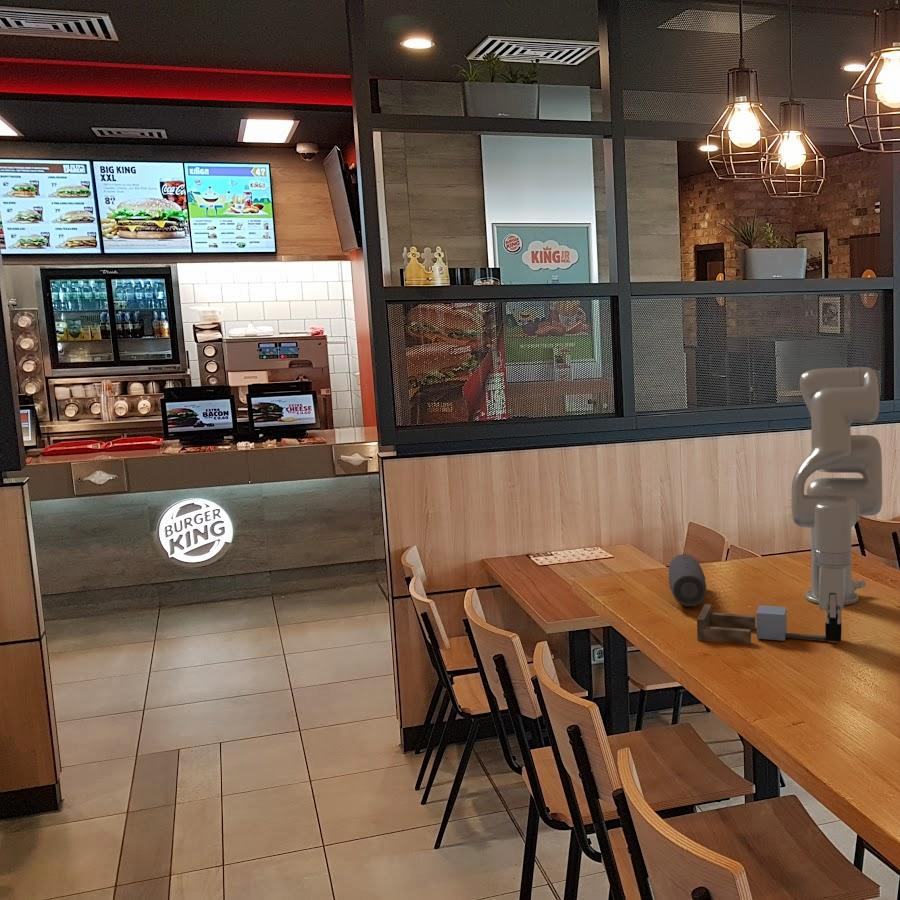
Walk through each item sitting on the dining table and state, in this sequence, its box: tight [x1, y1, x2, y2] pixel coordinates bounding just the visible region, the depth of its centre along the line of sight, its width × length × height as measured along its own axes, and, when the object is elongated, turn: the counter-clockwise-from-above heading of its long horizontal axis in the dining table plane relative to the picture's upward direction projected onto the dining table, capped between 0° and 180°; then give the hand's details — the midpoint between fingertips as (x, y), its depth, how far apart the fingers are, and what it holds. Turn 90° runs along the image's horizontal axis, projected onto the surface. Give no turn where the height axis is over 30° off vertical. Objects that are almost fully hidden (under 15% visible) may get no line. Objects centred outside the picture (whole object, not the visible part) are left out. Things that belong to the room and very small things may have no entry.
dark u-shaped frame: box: [696, 603, 756, 645], centre depth 207 cm, size 12×12×5 cm
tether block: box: [755, 605, 842, 644], centre depth 201 cm, size 18×6×7 cm, turn 65°
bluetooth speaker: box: [668, 553, 707, 607], centre depth 237 cm, size 23×9×10 cm, turn 168°
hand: (833, 637), depth 198 cm, fingers closed on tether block, 3 cm apart
